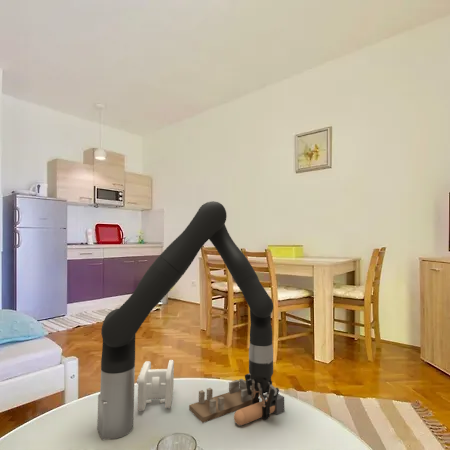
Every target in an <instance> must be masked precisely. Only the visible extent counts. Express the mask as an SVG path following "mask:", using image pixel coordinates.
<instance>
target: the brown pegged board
mask: <svg viewBox="0 0 450 450" xmlns="http://www.w3.org/2000/svg"><path fill="white" fill-rule="evenodd" d="M251 388H252V386H250V390H251ZM213 393H214V391H213V388H212V387H208V388H206V392H205V390H203V389H202V390H198V401H197V402H194V403H191V404H189V405H188V410H189V412H191V414H193V415H194V416H195V417H196V418H197V419H198V421H200V422H201V423H202V424H204V423H207V422H209V421H212V420H215V419H218V418H220V417H223V416H225V415H228V414H231V413H235V412H236V411H237V410H239V409H242V408H244V407H247V406H250V405H252V398H251V395H248V392H247V386H246V381H245V379H243V378H240V379H237V380H236V379H234V380H232V381H229V382H228V391H227V392H225V393H222V394H218V395H216V396H213ZM205 394H206V395H205ZM205 396H206V399H205Z"/></svg>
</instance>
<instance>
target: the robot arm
mask: <svg viewBox="0 0 450 450" xmlns="http://www.w3.org/2000/svg"><path fill="white" fill-rule="evenodd" d="M227 217H228V216H227V211H226V208H225V206H224V205H223V204H222V203H221V202H219V201H212V200H211V201H207V202H206V203H203V204H202V205H201V206H199V208H198V210H197V211H196V213H195V215H194V217H193V218H192V219H191V221H190V222H189V223H188V225H187V226H186V228H185V229H184V230H183V231H182V232H181V233H180V234H179V235H178V236H177V237H176V238H175V239H174V240H173V241H172V242H171V243H170V244H169V245H168V246H167V247H166V248H165V249H164V250H163V251H162V252H161V253H160V254H159V256H157V257H156V259H155V260H154V262H152V264H151V265H150V266H149V267H148V269H147V271H145V274H144V275H143V276H142V277H141V280H140V281H139V283H138V284H137V286H136V287H135V289H134V291H133V292H132V293H131V295H130V296H129V297H128V299H126V301H124V302H123V304H121V306H120V307H119V308H115V309H113V310H111V311H110V312H108V313H107V314H106V316H105V318H104V319H103V322H102V326H101V332H100V333H101V338H102V347H101V350H102V351H101V360H100V386H99V387H100V390H99V394H98V395H97V419H96V420H97V421H96V424H97V426H96V429H97V433H98V434H99V437H100V439H101V440H102V441H104V440H106V439H107V440H110V439H111V440H113V439H114V440H115V439H119V438H122V437H124V436H126V435H128V434H130V433H131V432H132V430H133V429H134V420H135V418H134V417H135V416H134V412H135V381H136V380H135V377H136V375H135V373H136V370H135V369H136V335H137V333H138V331H139V329H140V328H141V327H142V325H143V323H144V322H145V320H146V319H147V318H148V316H149V315H150V313H151V312H152V311H153V309H154V308H155V307H157V305H158V304H159V303H160V302H161V301H162V300H163V299H164V298H165V297H166V296H167V295H168V293H169V292H171V289H173V288H174V287H175V285H176V284H178V282H179V280H181V278H182V277H183V276H184V274H185V273H186V271H187V270H188V269H189V267H190V266H191V265H192V263H193V261H194V260H195V258H196V257H197V255H198V253H199V252H200V250H201V249H202V248H203V246H204V245H205V244H206V243H207V242H208V241H210V242H211V245H213V246H214V248H215V250H216V251H217V253H218V254H219V256H220V258H221V259H222V261H223V263H224V264H225V266H226V269H227V270H228V272H229V274H230V275H231V277H232V279H233V280H234V283H235V284H236V286H237V287H238V289H239V290H240V292H242V293H241V294H242V295H243V298H244V299H245V302H246V303H247V305H248V307H249V316H250V325H249V326H250V328H249V347H248V373H246V374H244V380H245V381H246V386H247V392H248V395H251V398H252V405H253V404H255V403H258V402H261V401H262V404H263V406H262V417H261V418H262V419H263V420H268V419H269V418H270V417H271V416H270V415H271V414H270V407H272V406H275V404H276V400H277V397H278V394H279V392H280V389H279V387H275V386H274V385H273V381H272V377H273V374H274V348H273V347H274V346H273V326H272V323H271V322H272V319H271V318H272V313H273V310H274V303H273V302H274V301H273V300H272V298H271V296H270V295H269V294H268V292H267V291H266V289H265V287H264V286H263V284H262V283H261V282H260V279H259V276H258V275H257V273H256V271H255V269H254V268H253V266H252V263H251V262H250V261H249V260H248V258H247V256H246V255H245V254H244V253H243V252H242V251H241V249H240V248H239V247H238V245H237V244H236V243H235V241H234V240H233V238H232V237H231V235H230V233H229V231H228V229H227V227H226V225H225V224H226V221H227ZM250 386H252V388H251V390H250ZM260 399H261V400H260ZM266 399H267V402H266Z"/></svg>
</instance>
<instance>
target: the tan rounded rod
mask: <svg viewBox="0 0 450 450" xmlns="http://www.w3.org/2000/svg"><path fill="white" fill-rule="evenodd" d="M266 402H267V398H266ZM262 406H263V404H262V400H260V402H258V403H255V404H253V405H250V406H247V407H244V408H242V409H239V410H237V411H234V413H233V414H234V415H233V420H234V422H235V423H236V424H237V425H238V426H244V425H246V424H249V423H251V422H253V421H256V420H258V419H261V418H262ZM273 413H274V414H275V415H280V414H283V413H285V396H283V395H281V394H279V393H278V397H277V400H276V404H275V406H272V407H270V415H271V414H273Z"/></svg>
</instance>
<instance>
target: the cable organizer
mask: <svg viewBox="0 0 450 450" xmlns="http://www.w3.org/2000/svg"><path fill="white" fill-rule="evenodd" d="M174 371H175V361H174V360H173V359H169V361H168V363H167V368H157V369H156V368H152V362H151V361H149V360H145V362H144V363H142V366H141V368H140V371H139V373H138V375H137V379H136V385H137V411H138V412H143V411H145V408H146V406H147V404H152V400H159V402H160V403H159V404H160V405H161V404H162V403H164V406H165V409H171V406H172V402H173V401H172V400H173V394H174V383H175V380H174V377H175V376H174V375H175V373H174Z"/></svg>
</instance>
